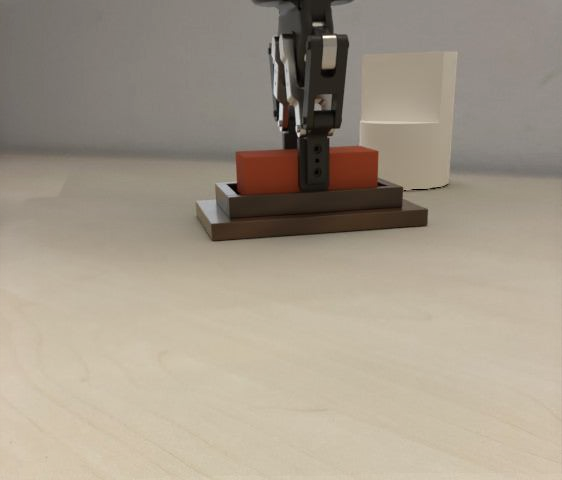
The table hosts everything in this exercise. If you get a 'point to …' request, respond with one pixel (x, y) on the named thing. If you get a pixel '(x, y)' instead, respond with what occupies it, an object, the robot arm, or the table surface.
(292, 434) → the table surface
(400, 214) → the dark wooden tray
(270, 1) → the robot arm
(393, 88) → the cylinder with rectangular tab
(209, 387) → the table surface
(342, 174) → the red rectangular block
